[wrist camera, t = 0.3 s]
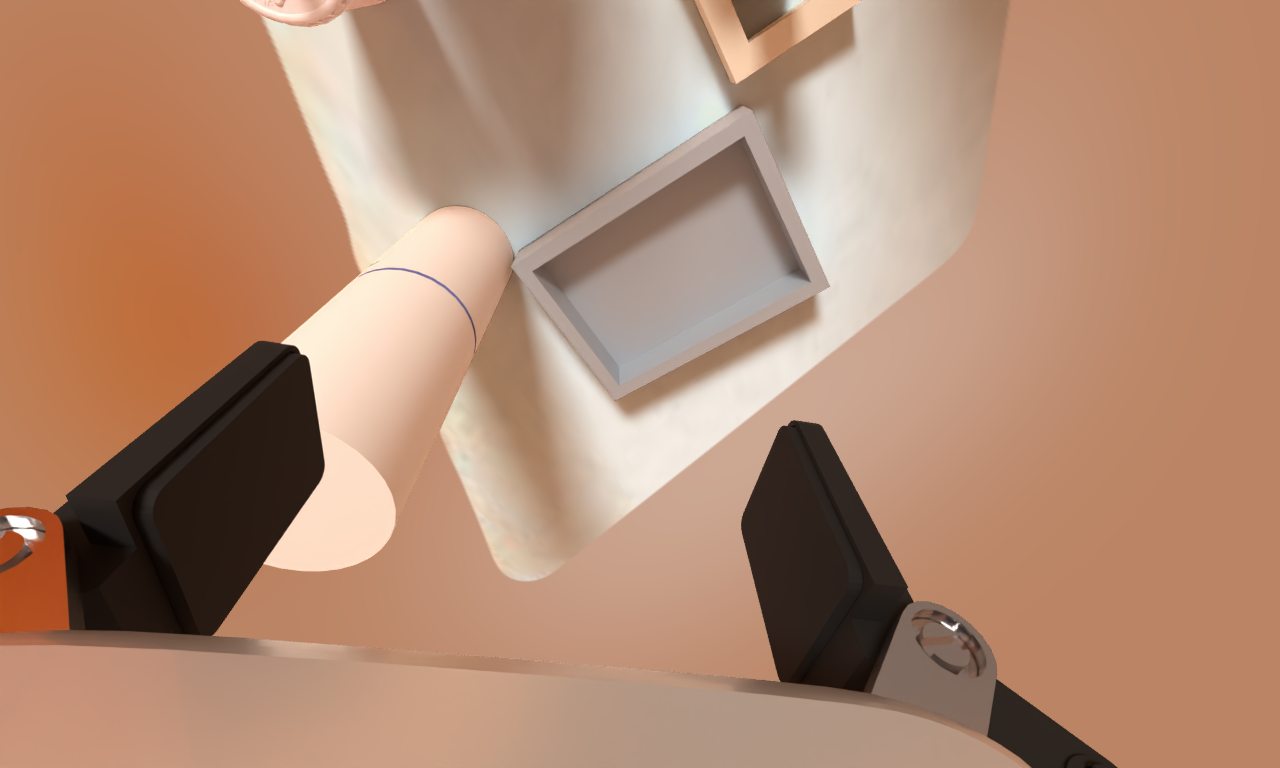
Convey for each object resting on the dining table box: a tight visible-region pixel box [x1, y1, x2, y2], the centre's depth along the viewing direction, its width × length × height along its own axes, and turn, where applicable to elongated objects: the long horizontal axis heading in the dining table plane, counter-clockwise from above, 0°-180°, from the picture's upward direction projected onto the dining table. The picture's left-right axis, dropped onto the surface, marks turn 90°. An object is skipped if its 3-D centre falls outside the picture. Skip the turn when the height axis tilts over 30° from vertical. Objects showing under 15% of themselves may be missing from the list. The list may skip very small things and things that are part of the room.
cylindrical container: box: [264, 206, 513, 571], centre depth 28 cm, size 7×7×25 cm
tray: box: [511, 105, 830, 401], centre depth 38 cm, size 18×13×4 cm
